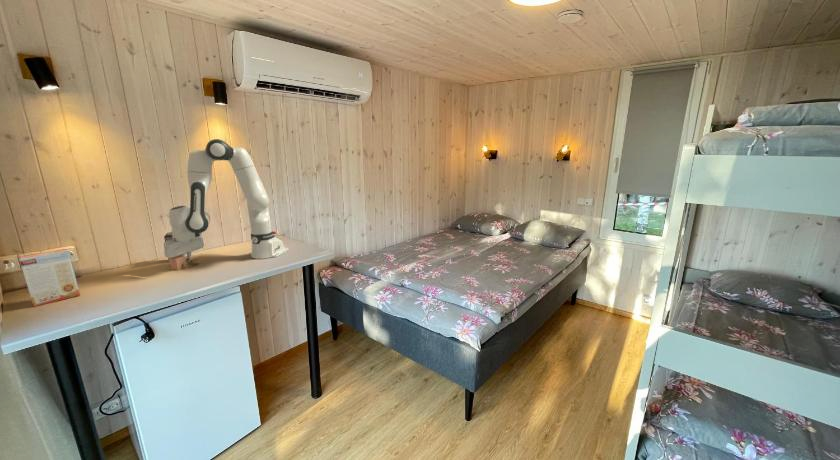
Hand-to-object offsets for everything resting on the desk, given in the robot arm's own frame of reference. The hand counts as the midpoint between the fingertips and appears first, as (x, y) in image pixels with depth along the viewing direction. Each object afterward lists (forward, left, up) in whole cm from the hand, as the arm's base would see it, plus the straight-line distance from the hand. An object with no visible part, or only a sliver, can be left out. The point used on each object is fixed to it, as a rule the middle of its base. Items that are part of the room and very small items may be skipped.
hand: (186, 260), depth 187 cm
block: (+5, 0, -2) cm, 6 cm away
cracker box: (+48, -15, -3) cm, 51 cm away
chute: (+3, 0, -3) cm, 5 cm away
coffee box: (-6, -15, -3) cm, 16 cm away
